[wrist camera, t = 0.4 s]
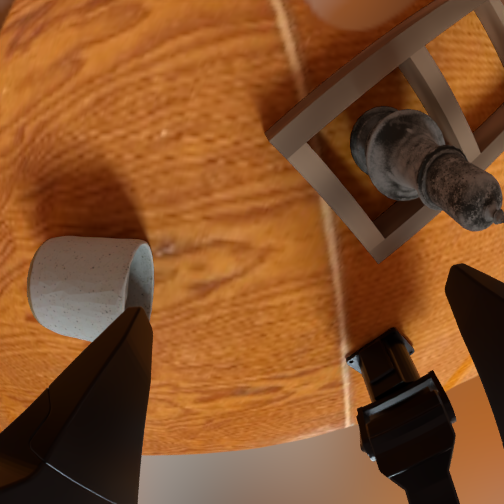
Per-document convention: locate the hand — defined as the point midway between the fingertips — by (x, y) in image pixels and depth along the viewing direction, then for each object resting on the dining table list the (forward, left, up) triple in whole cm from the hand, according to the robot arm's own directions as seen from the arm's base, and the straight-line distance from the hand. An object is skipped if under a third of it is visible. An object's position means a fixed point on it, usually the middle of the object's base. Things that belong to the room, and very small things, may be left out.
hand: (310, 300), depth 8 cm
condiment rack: (-5, -12, -14) cm, 19 cm away
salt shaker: (-5, -7, -14) cm, 16 cm away
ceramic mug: (+2, +15, -14) cm, 20 cm away
